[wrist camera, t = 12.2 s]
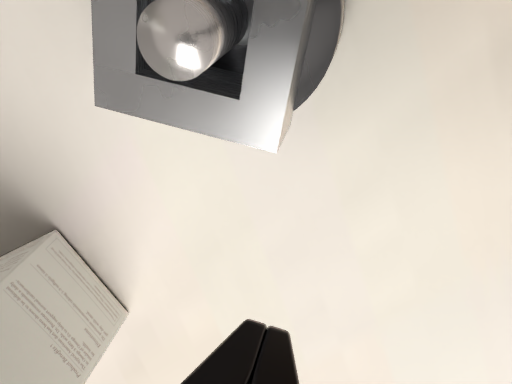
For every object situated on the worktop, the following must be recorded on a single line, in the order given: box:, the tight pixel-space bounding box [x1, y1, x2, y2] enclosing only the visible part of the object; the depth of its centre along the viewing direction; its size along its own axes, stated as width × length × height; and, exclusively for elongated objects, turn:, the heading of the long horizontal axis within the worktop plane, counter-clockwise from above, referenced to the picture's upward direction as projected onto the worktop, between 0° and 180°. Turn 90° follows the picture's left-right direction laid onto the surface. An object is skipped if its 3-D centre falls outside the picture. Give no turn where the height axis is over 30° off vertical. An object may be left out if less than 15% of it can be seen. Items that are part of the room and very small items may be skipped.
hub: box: [137, 0, 345, 111], centre depth 16 cm, size 9×9×6 cm
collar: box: [91, 0, 317, 153], centre depth 16 cm, size 7×7×3 cm
